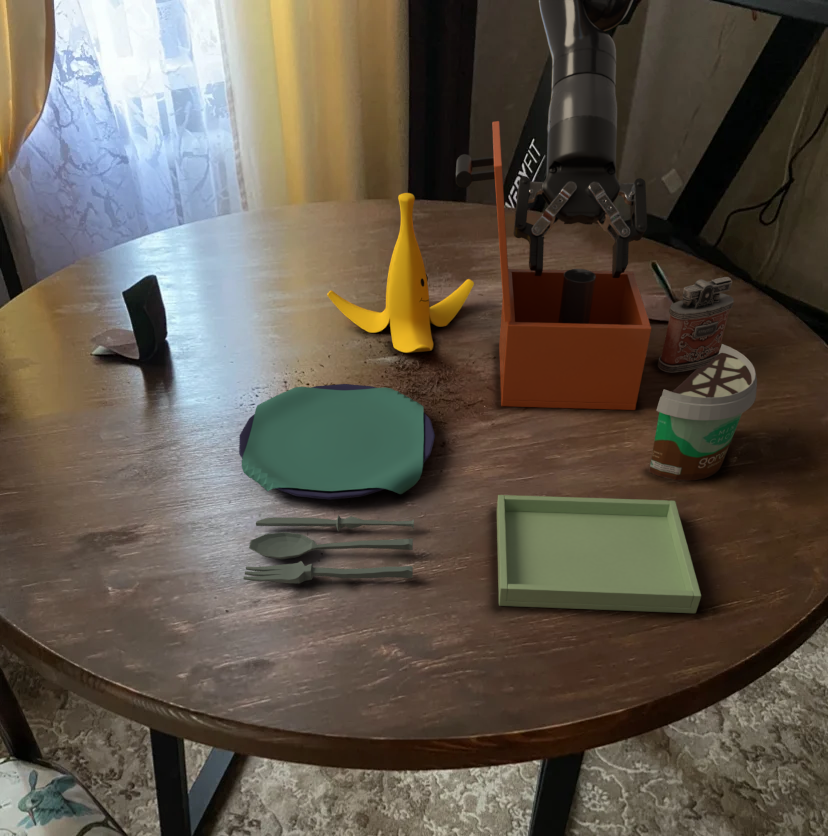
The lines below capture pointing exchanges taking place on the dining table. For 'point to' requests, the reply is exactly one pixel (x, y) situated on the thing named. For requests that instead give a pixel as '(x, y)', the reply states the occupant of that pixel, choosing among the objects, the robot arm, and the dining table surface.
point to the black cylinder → (577, 296)
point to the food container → (702, 417)
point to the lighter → (696, 326)
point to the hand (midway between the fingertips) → (577, 274)
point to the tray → (594, 554)
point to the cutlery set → (333, 466)
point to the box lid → (467, 177)
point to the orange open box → (572, 344)
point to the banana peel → (406, 294)
